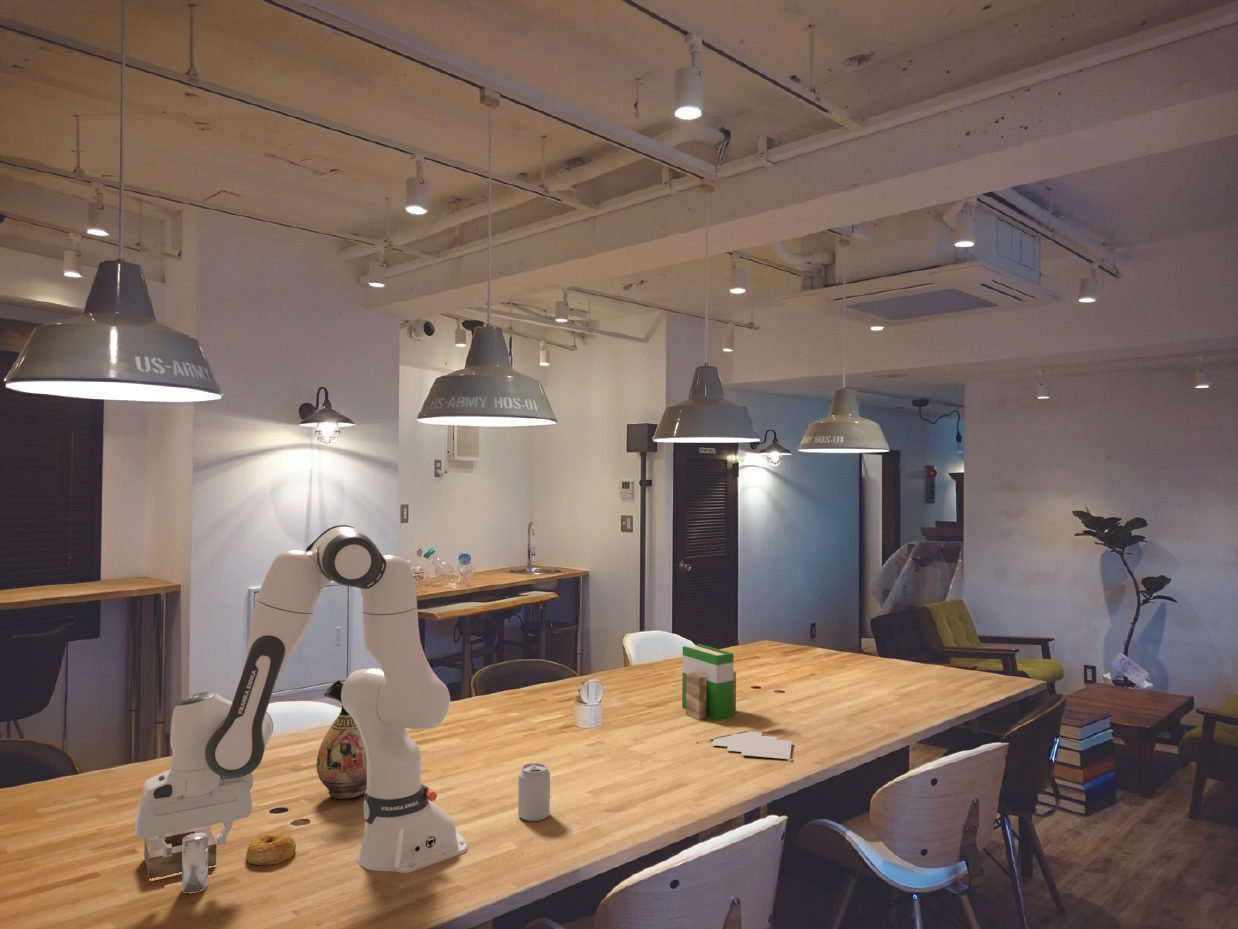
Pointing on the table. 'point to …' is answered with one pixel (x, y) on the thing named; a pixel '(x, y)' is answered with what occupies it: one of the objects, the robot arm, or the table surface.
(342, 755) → the ceramic jug
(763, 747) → the paper stack
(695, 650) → the hardback book
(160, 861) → the pocket block
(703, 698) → the bookend near
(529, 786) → the can
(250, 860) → the bagel
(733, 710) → the bookend far
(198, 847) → the part
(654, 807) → the table surface
